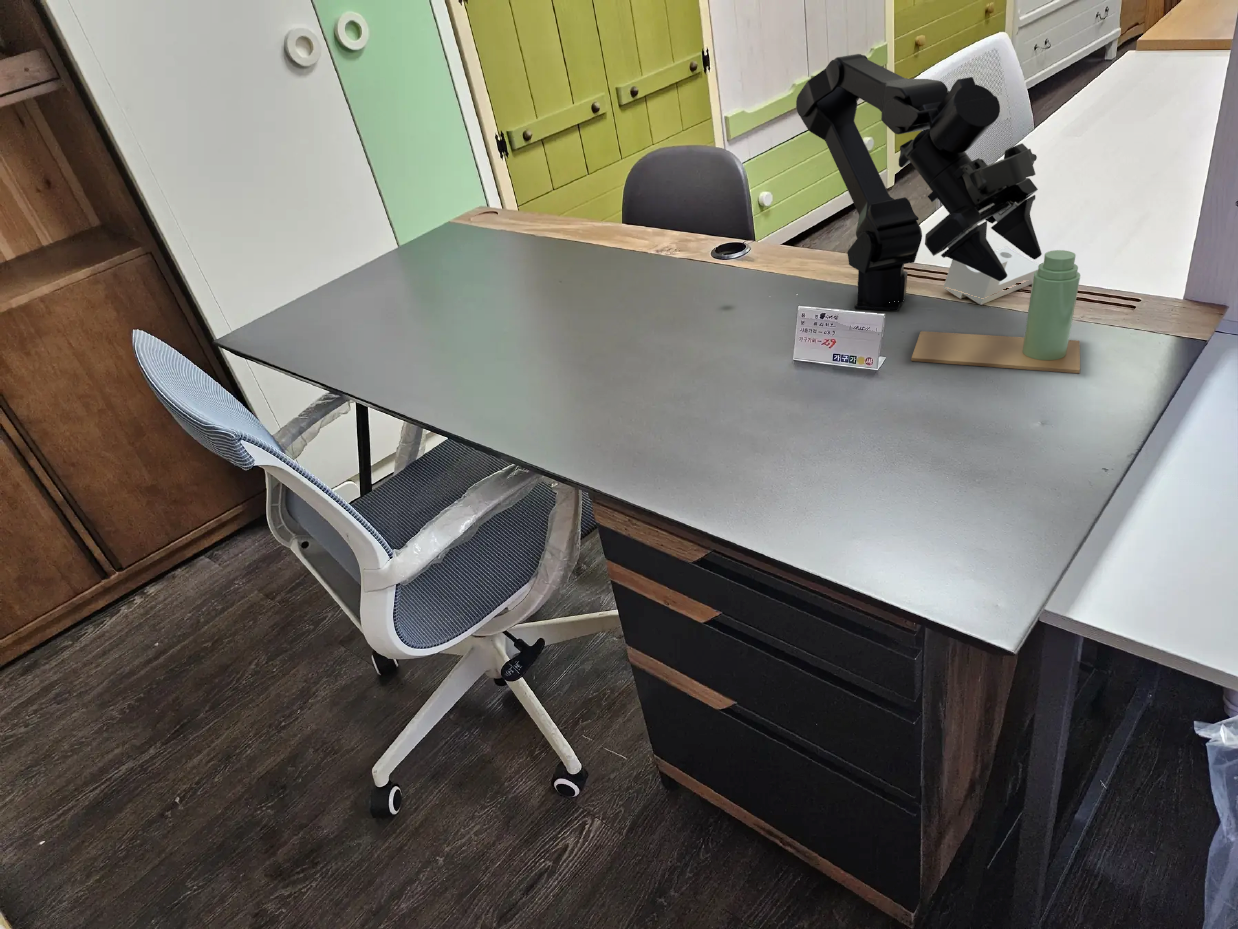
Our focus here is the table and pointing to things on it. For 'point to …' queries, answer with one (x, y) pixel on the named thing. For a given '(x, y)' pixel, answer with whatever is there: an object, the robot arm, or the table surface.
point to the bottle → (1051, 306)
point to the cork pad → (989, 352)
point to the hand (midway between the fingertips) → (1021, 267)
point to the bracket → (985, 285)
